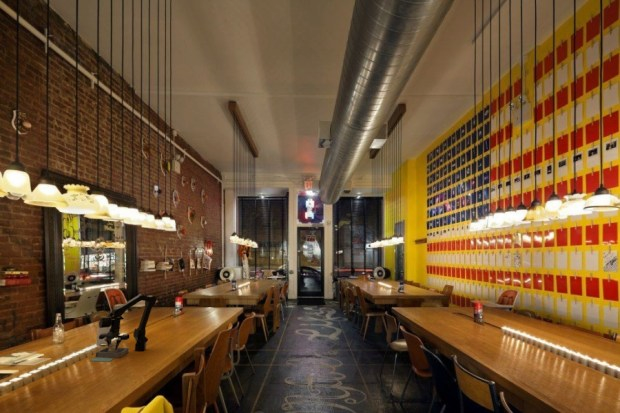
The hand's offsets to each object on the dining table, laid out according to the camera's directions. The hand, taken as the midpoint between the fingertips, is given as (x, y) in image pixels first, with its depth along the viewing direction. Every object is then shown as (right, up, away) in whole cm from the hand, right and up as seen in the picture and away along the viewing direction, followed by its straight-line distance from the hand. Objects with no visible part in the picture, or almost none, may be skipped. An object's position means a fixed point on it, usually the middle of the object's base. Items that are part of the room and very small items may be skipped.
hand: (112, 349), depth 268 cm
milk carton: (-20, -6, +24) cm, 32 cm away
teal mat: (0, -2, -13) cm, 14 cm away
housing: (0, -4, 0) cm, 4 cm away
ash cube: (0, -1, 0) cm, 0 cm away
